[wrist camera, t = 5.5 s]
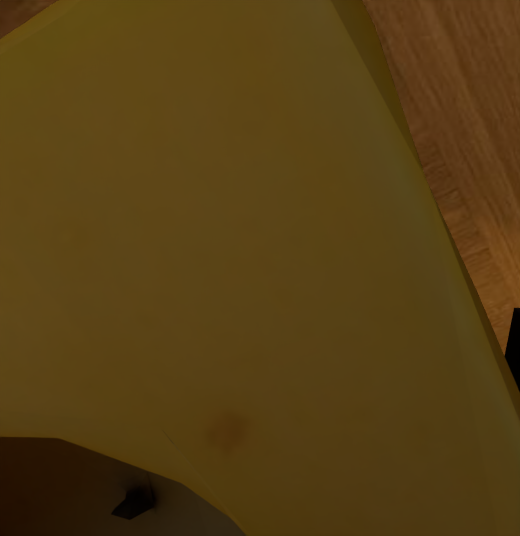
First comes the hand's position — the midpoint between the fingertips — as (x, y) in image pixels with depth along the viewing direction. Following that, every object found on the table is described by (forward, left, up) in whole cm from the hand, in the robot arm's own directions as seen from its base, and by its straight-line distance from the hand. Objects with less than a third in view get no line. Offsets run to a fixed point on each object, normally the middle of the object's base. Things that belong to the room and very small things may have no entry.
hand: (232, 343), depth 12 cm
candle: (0, 0, -2) cm, 3 cm away
